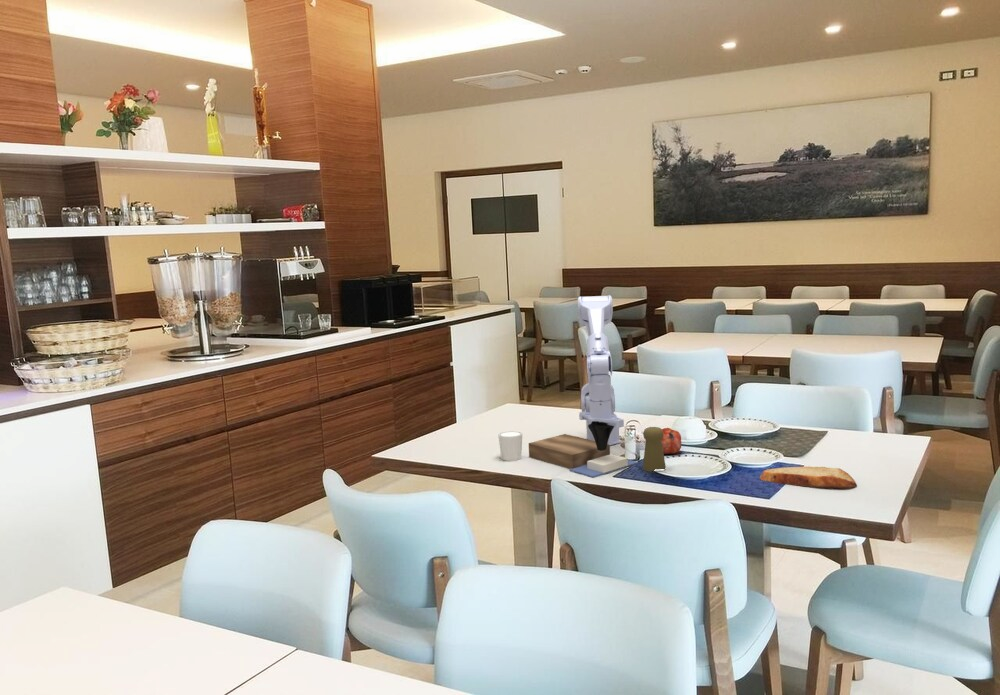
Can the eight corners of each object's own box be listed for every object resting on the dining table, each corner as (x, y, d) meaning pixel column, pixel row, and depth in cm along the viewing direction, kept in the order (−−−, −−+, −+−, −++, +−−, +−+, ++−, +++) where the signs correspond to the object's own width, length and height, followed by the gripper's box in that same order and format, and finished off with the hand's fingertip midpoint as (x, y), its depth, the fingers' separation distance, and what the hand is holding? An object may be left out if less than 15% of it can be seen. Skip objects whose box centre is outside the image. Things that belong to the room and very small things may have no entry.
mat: (614, 457, 224) (614, 456, 224) (638, 463, 218) (638, 462, 218) (569, 470, 214) (569, 469, 214) (593, 477, 207) (593, 476, 207)
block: (627, 458, 215) (627, 465, 215) (610, 454, 219) (611, 461, 220) (603, 465, 209) (603, 473, 210) (587, 461, 214) (587, 468, 214)
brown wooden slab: (565, 447, 238) (564, 433, 237) (610, 458, 224) (609, 444, 223) (529, 457, 229) (528, 443, 229) (573, 469, 215) (572, 454, 215)
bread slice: (753, 478, 202) (753, 463, 201) (813, 468, 208) (813, 454, 207) (802, 499, 185) (802, 483, 184) (865, 488, 191) (865, 472, 190)
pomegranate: (652, 458, 229) (655, 445, 221) (653, 435, 233) (656, 420, 224) (679, 461, 228) (683, 448, 220) (680, 437, 232) (684, 423, 223)
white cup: (526, 455, 231) (525, 431, 230) (520, 461, 225) (519, 437, 224) (503, 454, 233) (501, 430, 232) (496, 461, 227) (495, 436, 226)
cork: (648, 473, 209) (647, 431, 207) (638, 466, 215) (637, 426, 213) (670, 470, 211) (669, 428, 209) (659, 464, 216) (658, 423, 215)
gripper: (570, 398, 217) (572, 447, 219) (609, 405, 206) (611, 457, 208) (589, 394, 221) (590, 442, 223) (628, 401, 210) (630, 452, 212)
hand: (602, 449), depth 216 cm, fingers closed
